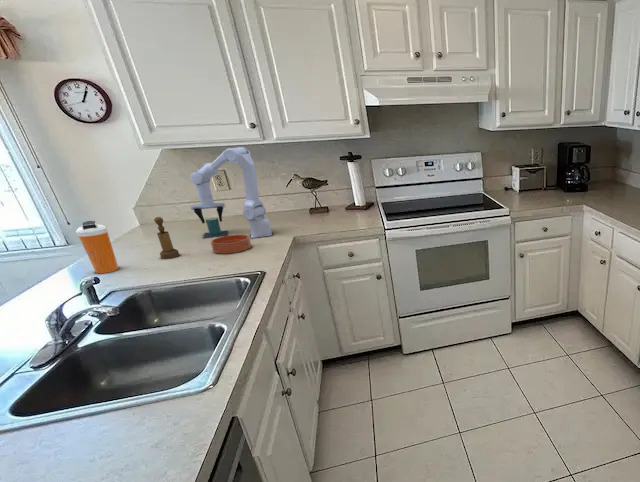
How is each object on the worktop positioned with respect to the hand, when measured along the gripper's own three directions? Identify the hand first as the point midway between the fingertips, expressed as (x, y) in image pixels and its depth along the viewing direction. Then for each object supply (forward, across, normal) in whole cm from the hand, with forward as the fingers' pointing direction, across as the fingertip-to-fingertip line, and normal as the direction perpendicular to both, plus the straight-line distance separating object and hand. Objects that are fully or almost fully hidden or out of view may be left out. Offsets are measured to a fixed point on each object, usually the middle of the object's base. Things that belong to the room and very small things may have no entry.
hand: (212, 222), depth 214 cm
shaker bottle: (+7, -32, -43) cm, 54 cm away
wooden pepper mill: (+7, -13, -33) cm, 36 cm away
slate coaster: (+7, 0, 0) cm, 7 cm away
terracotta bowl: (+7, +11, -33) cm, 36 cm away
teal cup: (+6, 0, 0) cm, 6 cm away
